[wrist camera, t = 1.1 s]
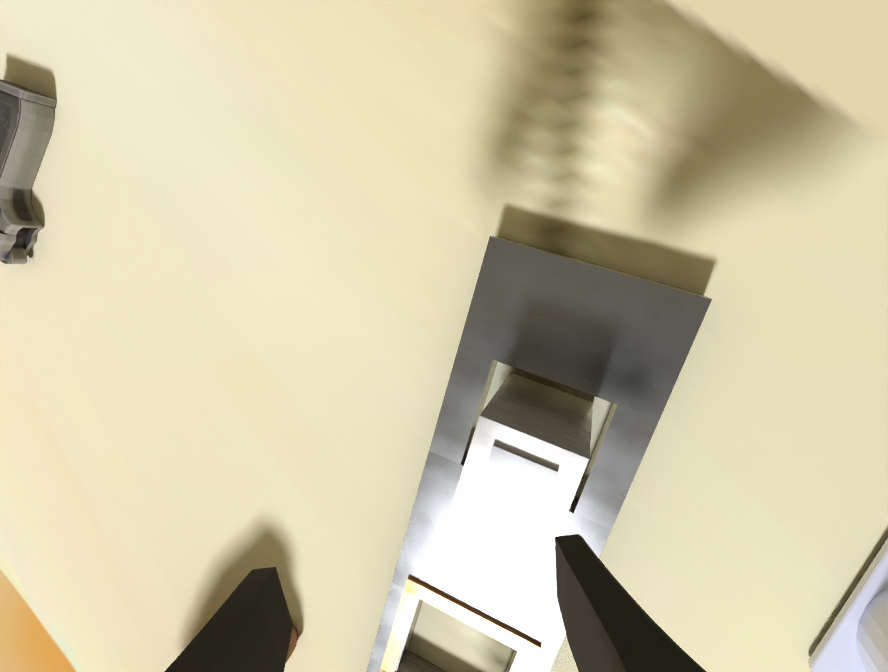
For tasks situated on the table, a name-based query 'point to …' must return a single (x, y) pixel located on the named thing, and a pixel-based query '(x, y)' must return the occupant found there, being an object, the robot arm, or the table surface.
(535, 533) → the grey rectangular block
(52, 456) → the table surface
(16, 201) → the handgun
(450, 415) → the rail
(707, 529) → the table surface
